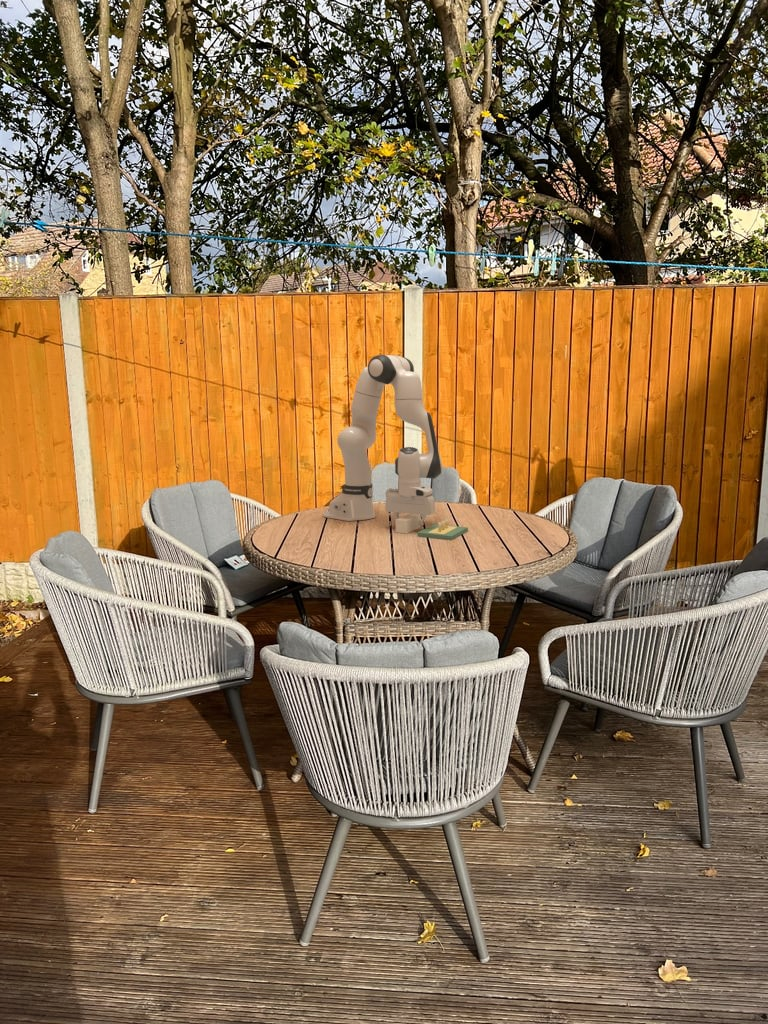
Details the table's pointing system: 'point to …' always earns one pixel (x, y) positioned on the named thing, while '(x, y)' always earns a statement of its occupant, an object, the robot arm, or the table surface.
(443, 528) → the header board
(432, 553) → the table surface
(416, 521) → the housing
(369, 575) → the table surface
